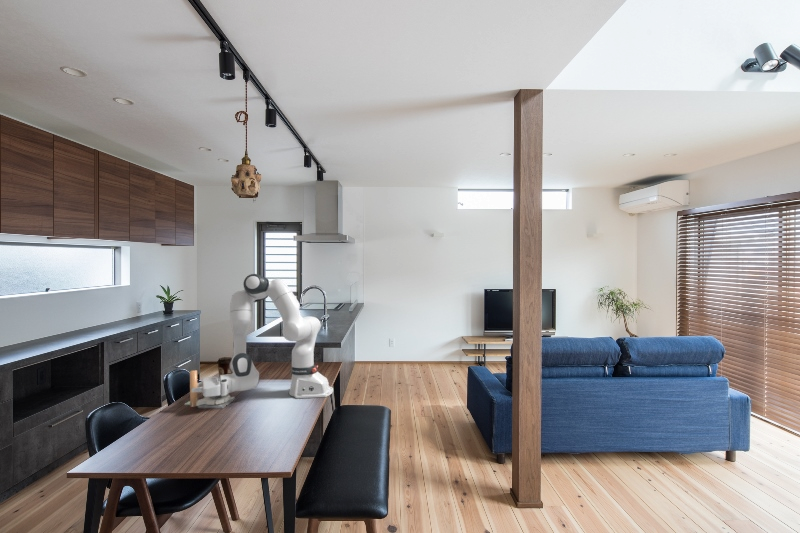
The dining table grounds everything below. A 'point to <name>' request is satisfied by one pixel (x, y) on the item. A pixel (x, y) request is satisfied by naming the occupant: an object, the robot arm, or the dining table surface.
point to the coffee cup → (224, 365)
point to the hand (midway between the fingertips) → (191, 388)
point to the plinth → (217, 404)
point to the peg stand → (206, 399)
